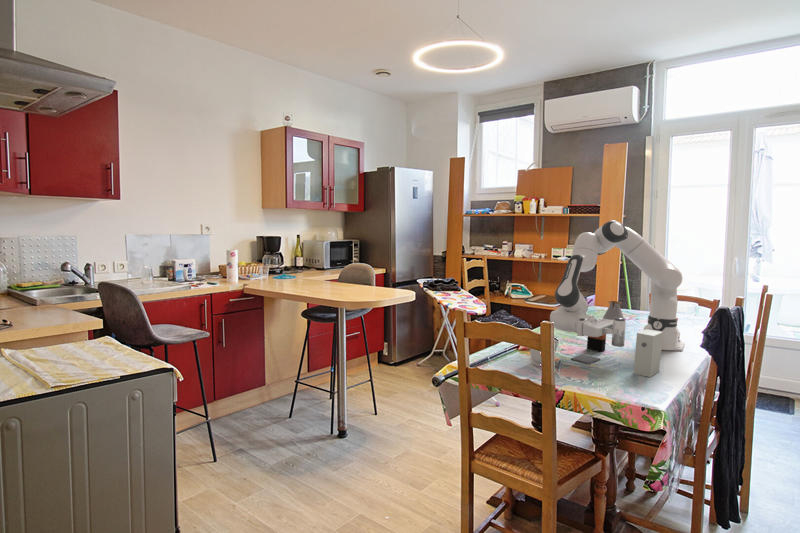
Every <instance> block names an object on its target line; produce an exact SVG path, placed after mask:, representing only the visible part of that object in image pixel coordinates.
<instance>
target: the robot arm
mask: <svg viewBox="0 0 800 533" xmlns="http://www.w3.org/2000/svg"><path fill="white" fill-rule="evenodd" d="M614 247H615V248H617V249H618V250H620V251H621V252H622V254H623V255H624V256H625V257H627V258H628V259H629V260H630V261H631V262H632V264H634V265H635V266H636V267H637V268H638V269H639V270H640V271H642V273H644V274H645V275H646V276H647V277H648V278H649V279H650V302H649V303H650V305H649V314H648V316H647V324H646V325H644V326H643V330H645V329H649V330H654V331H660V332H663V337H662V347H661V351H677V352H678V351H679V352H682V351H683V350H684V347H685V345H686V344H685V342H684V341H681V338H680V337H681V332H680V330H679V329H678V327H677V326H678V319H679V318H678V317H677V311H678V288H679V286H680V285H681V284H682V283H683V275H682V272H681V271H680V270H679V268H677V267H676V266H675V265H674V264H673V263H671V262H670V261H669V259H668V258H666V257H665V256H664V255H662V254H661V253H660V252H659V251H658V250H657V249H656V248H655V247H653V246H652V244H650V243H649V242H648V240H646V239H645V238H643V237H642V235H641V234H639V233H638V232H636V231H635V230H633V229H631V228H630V227H627V226H625V225H624V224H623V223H621V222H619V221H617V220H610V221H607V222H604V224H602V225H601V226H600V227H598V228H597V229H596V230H595V231H594V232H593V233H592V232H589V231H588V232H585V231H584V232H582V233H579V235H578V236H577V238H576V240H575V242H574V244H573V249H572V252H571V256H570V258H569V259H568V262H567V263H566V267H565V270H564V273H563V276H562V278H561V281H560V283H559V284H558V286H557V287H556V289H555V291H554V299H555V301H556V302H557V303H558V304H560V305H559V306H558V308H556V309H554V310H552V311H551V312H550V315H549V322H554V327H553V328H554V329H555V330H558V331H561V332H567V333H575V334H576V335H577V337H588V336H590V337H599V336H602V335H604V334H606V335H612V334H618V333H619V330H618V329H613V320H608V319H603V318H600V319H597V318H595V316H594V315H593V314H587V312H588V310H589V304H588V301H587V299H586V298H585V297H584V295H583V293H582V292H581V291H580V289H579V286H578V281H579V278H580V274H581V273H587V272H589V271H590V272H591V271H592V270H593V269H594V268H595V266H596V264H597V260H598V257H599V256H602V255H605V254H606V253H607V252H608V251H610V250H612V249H614Z"/></svg>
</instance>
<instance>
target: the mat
mask: <svg viewBox="0 0 800 533" xmlns="http://www.w3.org/2000/svg"><path fill="white" fill-rule="evenodd" d="M570 360H571V361H574V362H579V363H583V364H585V365H592V364H594V363H596V362H598V361H601V357H596V356H592V355H587V354H583V353H581V354H579V355H576V356H573V357H571V358H570Z"/></svg>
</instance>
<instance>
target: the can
mask: <svg viewBox="0 0 800 533" xmlns="http://www.w3.org/2000/svg"><path fill="white" fill-rule="evenodd" d="M626 321H627V320H626V318H625V317H624V318H620V317H614V319H613V329H618V330H619V333H618V334H611V346H613V347H618V348H622V347H623V348H624V347H625V338H626V336H625V335H626Z"/></svg>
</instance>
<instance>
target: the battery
mask: <svg viewBox="0 0 800 533" xmlns="http://www.w3.org/2000/svg"><path fill="white" fill-rule="evenodd" d="M586 340H587V342H586V343H587V344H586V350H590V351H595V352H599V353H602V352H604V351H606V340H607V334H604V335H602V336H599V337H590V336H587V339H586Z"/></svg>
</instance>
